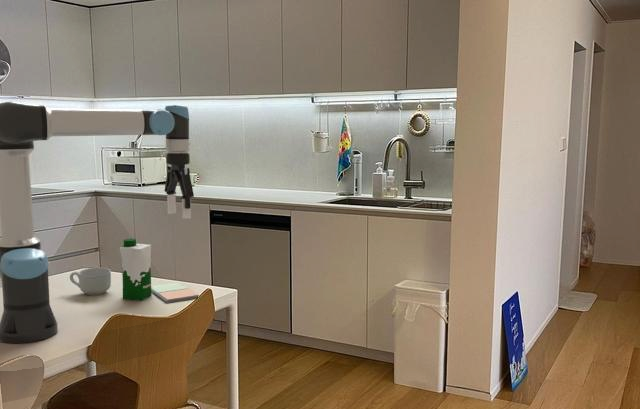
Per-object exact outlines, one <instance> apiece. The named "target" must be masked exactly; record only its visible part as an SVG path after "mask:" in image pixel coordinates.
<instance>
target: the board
mask: <svg viewBox="0 0 640 409" xmlns="http://www.w3.org/2000/svg"><path fill="white" fill-rule="evenodd" d="M151 294H153V295H154V296H155V297H157V298H158V299H160V300H161V301H162V302H164V303H165V304H169V303H176V302H177V303H178V302H182V301H183V302H184V301H190V300H196V299H198V298H197V297H198V296H199V295H200V294H199V293H197V292H195V291H194V290H191V289H190V288H189V287H188V286H185V285H184V284H181V282H172V283H164V284H159V285H158V284H157V285H151ZM195 298H196V299H195Z"/></svg>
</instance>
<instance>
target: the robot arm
mask: <svg viewBox="0 0 640 409" xmlns="http://www.w3.org/2000/svg"><path fill="white" fill-rule="evenodd" d="M189 114H190V113H189V108H188V106H186V105H185V104H184V105H183V104H181V105H180V104H167V105H165V108H164V109H161V108H159V109H118V108H117V109H116V108H115V109H107V108H106V109H104V108H103V109H97V108H96V109H94V108H93V109H91V108H86V109H83V108H49V107H48V106H47V105H45V104H43V105H42V104H27V103H22V102H17V101H6V102H1V103H0V231H1V232H0V233H1V238H0V280H1V287H2V290H1V291H2V302H3V303H2V304H3V311H2V314H1V318H0V342H3V343H5V344H25V343H27V344H28V343H33V342H38V341H42V340H45V339H48V338H50V337H53V336H55V335H56V334H57V333H58V330H59V328H58V321H57V319H56V316H55V315H54V312H53V310H52V307H51V304H50V287H49V286H50V283H49V261H48V260H49V259H48V255H47V254H46V253H45V251H43V250H42V249H41V248H42V247H41V246H42V245H41V239H39V238H38V237H36V235H35V231H34V229H35V227H34V216H33V215H34V213H33V199H32V198H33V197H32V186H31V185H32V184H31V171H30V154H31V153H32V152H33V151H34V150H35V146H34V142H35V141H36V142H37V141H49V140H50V138H53V137H88V136H89V137H92V136H93V137H97V136H99V137H100V136H103V137H104V136H165V151H166V152H167V153H166V154H165V155H166V158H165V159H166V162H165V163H166V165H167V171H166V172H167V173H166V177H165V185H164V192H165V194H166V197H167V203H166V204H167V205H166V206H167V214H168V215H169V214H171V215H172V214H177V203H176V195H177V192H176V188H177V186H179V189H180V192H181V195H182V196H181V198H180V199H181V212H182V214H181V216H182V220H184V219H185V220H187V219H192V200H191V199H192V198H194V195H195V194H194V189H193V185H192V179H191V173H190V167H186V165H190V153H189V151H190V145H191V142H190V115H189Z"/></svg>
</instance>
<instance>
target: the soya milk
mask: <svg viewBox="0 0 640 409" xmlns="http://www.w3.org/2000/svg"><path fill="white" fill-rule="evenodd" d="M119 252H120V256H121V268H122V270H121V272H122V300H127V301H144V300H145V299H147V298H149V297H151V296H152V293H151V286H152V268H151V266H152V264H151V263H152V261H151V258H152V256H151V255H152V254H151V253H152V244H145V243H137V239H136V238H126V239H125V238H124V239H123V246H121V247H119Z"/></svg>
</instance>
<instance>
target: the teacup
mask: <svg viewBox="0 0 640 409" xmlns="http://www.w3.org/2000/svg"><path fill="white" fill-rule="evenodd" d="M111 272H112V271H111V269H109V268H107V267H90V268H84V269H82V270H80V271H73V272H71V273H70V275H69V280H70V282H71V283H72V284H74V285H75V286H77V287H78V288H79V290H80V291H81V292H82V293H83V294H85V295H87V296H99V295H104V294H105V293H106V292H107V291H108V290H110V288H111V285H112V274H111ZM74 275H75V276H77V279H78V281H77V280H75V279H74Z"/></svg>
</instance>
